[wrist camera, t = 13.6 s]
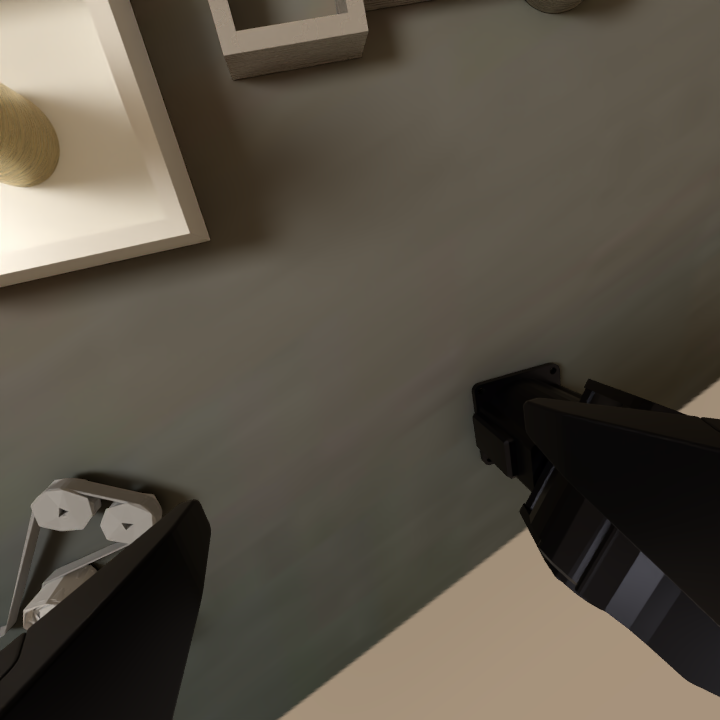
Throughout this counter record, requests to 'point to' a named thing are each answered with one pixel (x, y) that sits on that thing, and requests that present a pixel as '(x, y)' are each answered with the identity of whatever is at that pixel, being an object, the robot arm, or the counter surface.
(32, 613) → the pulley system
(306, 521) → the counter surface
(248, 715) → the counter surface
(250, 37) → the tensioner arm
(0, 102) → the pin
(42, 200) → the parts tray
